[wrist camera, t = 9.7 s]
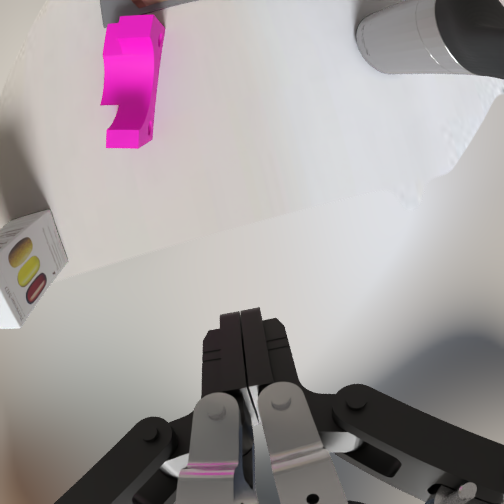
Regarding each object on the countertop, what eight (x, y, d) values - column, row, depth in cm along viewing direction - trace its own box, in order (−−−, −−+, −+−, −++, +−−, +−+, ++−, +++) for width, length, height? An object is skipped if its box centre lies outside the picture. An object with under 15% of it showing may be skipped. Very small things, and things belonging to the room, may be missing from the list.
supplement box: (70, 262, 43) (23, 331, 28) (30, 269, 43) (-19, 332, 28) (50, 206, 39) (-14, 262, 24) (10, 218, 38) (-52, 272, 24)
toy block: (119, 30, 29) (98, 18, 22) (165, 28, 30) (153, 14, 23) (108, 138, 36) (85, 148, 29) (152, 139, 37) (138, 148, 30)
